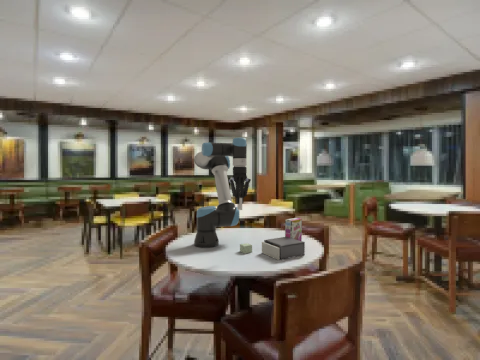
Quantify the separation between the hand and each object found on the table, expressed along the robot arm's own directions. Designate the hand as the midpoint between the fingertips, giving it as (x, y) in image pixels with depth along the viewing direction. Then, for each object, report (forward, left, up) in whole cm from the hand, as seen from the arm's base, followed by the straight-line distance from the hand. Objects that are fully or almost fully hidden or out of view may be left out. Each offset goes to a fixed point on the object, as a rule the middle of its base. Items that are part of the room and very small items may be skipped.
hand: (239, 209), depth 159 cm
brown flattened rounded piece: (+12, +19, -23) cm, 32 cm away
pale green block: (-2, +5, -24) cm, 25 cm away
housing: (+12, +21, -24) cm, 34 cm away
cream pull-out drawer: (+12, +19, -24) cm, 33 cm away
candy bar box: (+2, +36, -25) cm, 44 cm away
